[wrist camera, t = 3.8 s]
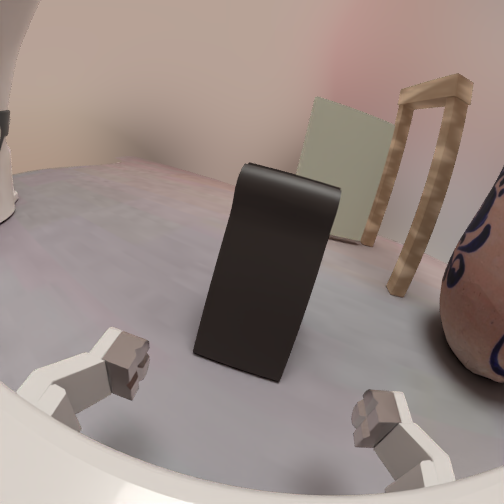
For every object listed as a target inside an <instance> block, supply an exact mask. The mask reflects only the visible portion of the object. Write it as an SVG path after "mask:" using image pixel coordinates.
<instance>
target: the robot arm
mask: <svg viewBox="0 0 504 504" xmlns="http://www.w3.org/2000/svg"><path fill="white" fill-rule="evenodd" d="M39 3H40V0H0V110H5V111H0V222H2V221H4V220H5V219H7V218H8V217H9V216H10V215H11V214H12V213H13V212H14V210H15V204H14V203H15V202H16V200H17V199H18V193H17V191H14V190H13V179H12V166H11V151H10V148H9V147H8V146H7V143H6V136H7V135H8V130H9V124H10V119H9V118H10V111H9V110H7V109H8V103H9V96H10V90H11V85H12V79H13V74H14V69H15V65H16V60H17V56H18V53H19V50H20V47H21V44H22V42H23V39H24V37H25V34H26V32H27V30H28V27H29V25H30V22H31V20H32V18H33V16H34V13H35V11H36V9H37V7H38V5H39ZM148 350H149V341H148V340H145V339H143V338H140V337H137V336H135V335H132V334H130V333H127V332H125V331H122V330H119V329H117V328H114V327H110V328H108V330H107V331H106V332H105V333H104V335H103V336H102V337H101V338H100V340H99V341H98V342H97V343H96V345H95V346H94V347H93V348H92V350H91V351H90V352H89V353H86V352H84V353H82V354H79V355H76V356H73V357H70V358H68V359H65V360H62V361H59V362H56V363H53V364H50V365H48V366H45V367H42V368H39V369H36V370H34V371H33V372H32V373H31V374H30V376H29V377H28V378H27V379H26V380H25V382H24V383H23V384H22V385H21V386H20V388H19V389H18V390H17V391H16V393H15V392H14V391H13V390H11V389H10V388H9V387H7V386H6V385H5V384H3V383H2V382H1V381H0V504H504V465H503V466H500V467H498V468H495V469H492V470H489V471H486V472H483V473H480V474H477V475H474V476H470V477H467V478H463V479H460V480H455V476H454V473H453V469H452V465H451V462H450V458H449V456H448V455H447V454H446V453H445V452H444V451H443V450H442V449H441V448H440V447H439V446H438V445H437V444H436V443H435V442H434V441H433V440H432V439H431V438H430V437H429V436H428V435H427V434H426V433H425V432H424V431H423V430H422V429H421V428H420V427H419V426H418V425H417V424H416V423H413V422H412V419H411V415H410V412H409V409H408V405H407V402H406V399H405V396H404V394H403V393H402V392H397V391H383V390H371V389H369V390H367V391H366V392H365V393H364V394H363V400H361V401H359V402H357V404H356V405H355V407H354V409H353V412H352V418H351V420H352V425H353V426H354V427H355V428H356V430H355V432H354V433H353V436H354V444H355V447H361V448H374V451H375V452H376V454H377V455H378V457H379V458H380V460H381V461H382V462H383V464H384V465H385V467H386V468H387V470H388V471H389V473H390V474H391V476H392V477H393V478H394V480H395V481H394V482H393V483H392V484H390V485H389V486H387V487H386V488H385V493H379V494H366V495H302V494H288V493H278V492H269V491H261V490H254V489H248V488H242V487H236V486H231V485H226V484H221V483H217V482H212V481H208V480H204V479H200V478H196V477H192V476H188V475H185V474H181V473H178V472H175V471H171V470H168V469H165V468H162V467H159V466H156V465H153V464H150V463H148V462H145V461H142V460H140V459H137V458H134V457H132V456H129V455H127V454H124V453H122V452H120V451H117V450H115V449H113V448H110V447H108V446H106V445H104V444H102V443H100V442H97V441H95V440H93V439H91V438H89V437H87V436H85V435H83V434H81V433H80V431H81V426H80V424H79V421H78V419H77V417H76V415H75V414H77V413H79V412H81V411H83V410H84V409H86V408H88V407H90V406H91V405H93V404H95V403H97V402H99V401H100V400H102V399H104V398H106V397H107V396H109V395H111V393H113V394H115V395H118V396H120V397H123V398H126V399H128V400H131V401H132V400H133V398H134V397H135V395H136V393H137V391H138V389H139V381H141V380H143V379H144V378H145V376H146V374H147V370H148V367H149V361H150V359H149V355H148V354H147V351H148Z"/></svg>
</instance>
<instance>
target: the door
mask: <svg viewBox="0 0 504 504" xmlns="http://www.w3.org/2000/svg"><path fill="white" fill-rule="evenodd" d="M394 129H395V125H394V124H391V123H389V122H387V121H384V120H382V119H379V118H377V117H374V116H372V115H369V114H367V113H364V112H361V111H359V110H356V109H353V108H350V107H348V106H345V105H342V104H339V103H336V102H333V101H330V100H327V99H324V98H320V97H315V100H314V104H313V108H312V112H311V116H310V120H309V124H308V129H307V132H306V136H305V140H304V144H303V148H302V152H301V156H300V160H299V164H298V168H297V172H296V175H299V176H302V177H306V178H309V179H313V180H316V181H320V182H323V183H326V184H329V185H333V186H336V187H339V188H341V189H340V190H342V192H341V198H340V202H339V206H338V210H337V214H336V217H335V220H334V223H333V226H332V229H331V232H330V235H333V236H338V237H342V238H347V239H352V240H356V241H360V240H361V237H362V234H363V232H364V229H365V226H366V223H367V220H368V217H369V214H370V211H371V208H372V205H373V202H374V199H375V196H376V193H377V190H378V186H379V183H380V180H381V176H382V173H383V170H384V166H385V163H386V159H387V156H388V152H389V148H390V145H391V141H392V137H393V133H394Z"/></svg>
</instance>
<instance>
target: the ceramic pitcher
mask: <svg viewBox="0 0 504 504" xmlns="http://www.w3.org/2000/svg"><path fill="white" fill-rule="evenodd" d="M440 316H441V321H442V325H443V329H444V333H445V336H446V339H447V342H448V344H449V346H450V347H451V349H452V350H453V352H454V354H455V355H456V356H457V358H458V359H459V360H460V361H461V362H462V364H463V365H464V366H465V367H466V368H467V369H469V370H471V371H472V372H473V373H475V374H478V375H481V376H484V377H487V378H489V379H492V380H493V381H496V382H499V383H502V382H504V167H503V169H502V171H501V173H500V175H499V176H498V178H497V180H496V182H495V184H494V186H493V188H492V189H491V191H490V193H489V194H488V196H487V197H486V199H485V201H484V202H483V204H482V205H481V207H480V209H479V211H478V212H477V214H476V215H475V216H474V218H473V220H472V221H471V223H470V224H469V226H468V228H467V229H466V231H465V232H464V234H463V236H462V237H461V239H460V241H459V242H458V244H457V246H456V248H455V250H454V252H453V254H452V256H451V258H450V260H449V262H448V265H447V268H446V270H445V273H444V276H443V279H442V285H441V293H440Z"/></svg>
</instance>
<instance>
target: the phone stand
mask: <svg viewBox="0 0 504 504" xmlns="http://www.w3.org/2000/svg"><path fill="white" fill-rule="evenodd" d="M340 189H341V188H339V187H336V186H333V185H329V184H326V183H323V182H320V181H316V180H313V179H309V178H306V177H302V176H299V175H295V174H292V173H288V172H284V171H281V170H277V169H273V168H269V167H265V166H261V165H257V164H253V163H248V164H244V166H243V167H242V169H241V172H240V174H239V177H238V180H237V184H236V187H235V192H234V199H233V204H232V209H231V213H230V217H229V220H228V224H227V227H226V231H225V234H224V238H223V241H222V245H221V248H220V252H219V255H218V259H217V262H216V266H215V270H214V273H213V277H212V281H211V284H210V288H209V292H208V295H207V299H206V303H205V307H204V310H203V314H202V318H201V322H200V326H199V329H198V333H197V337H196V341H195V345H194V349H193V352H194V353H196V354H199V355H201V356H204V357H207V358H209V359H212V360H215V361H218V362H220V363H223V364H226V365H229V366H232V367H235V368H238V369H241V370H244V371H247V372H250V373H253V374H256V375H259V376H263V377H266V378H269V379H272V380H276V381H280V379H281V376H282V374H283V371H284V368H285V366H286V363H287V361H288V358H289V355H290V353H291V350H292V347H293V344H294V342H295V339H296V336H297V333H298V330H299V328H300V325H301V322H302V319H303V316H304V313H305V310H306V307H307V304H308V301H309V298H310V295H311V292H312V289H313V286H314V283H315V280H316V277H317V274H318V270H319V267H320V264H321V261H322V258H323V254H324V251H325V248H326V244H327V241H328V238H329V235H330V232H331V229H332V226H333V223H334V220H335V217H336V214H337V210H338V206H339V202H340V198H341V192H342V190H340Z"/></svg>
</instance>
